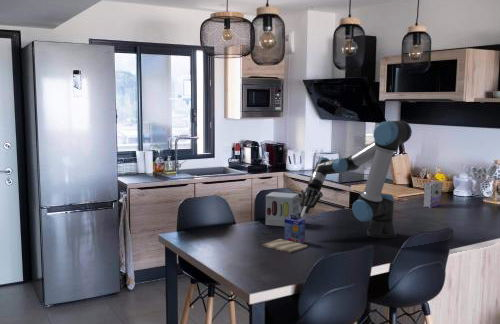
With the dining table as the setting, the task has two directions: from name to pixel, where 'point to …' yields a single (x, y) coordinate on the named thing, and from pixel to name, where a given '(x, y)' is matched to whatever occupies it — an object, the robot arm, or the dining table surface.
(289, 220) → the ink cartridge box
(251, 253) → the dining table surface
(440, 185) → the candy box
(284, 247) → the board
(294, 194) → the supplement box
